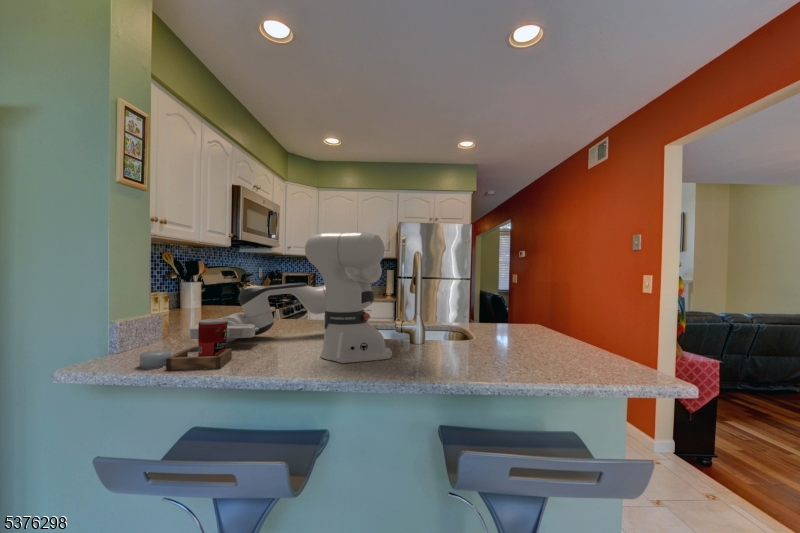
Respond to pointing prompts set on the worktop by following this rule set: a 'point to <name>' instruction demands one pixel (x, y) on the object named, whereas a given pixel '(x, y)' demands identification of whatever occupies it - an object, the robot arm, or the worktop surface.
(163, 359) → the grey rounded cylinder
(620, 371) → the worktop surface
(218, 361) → the bay
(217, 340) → the canned food
